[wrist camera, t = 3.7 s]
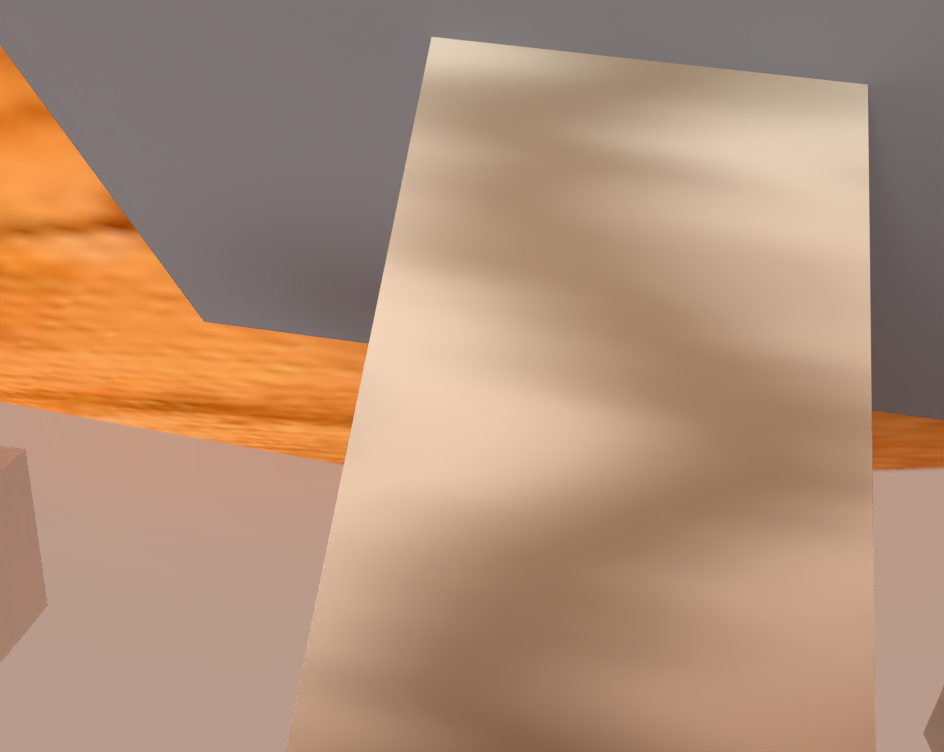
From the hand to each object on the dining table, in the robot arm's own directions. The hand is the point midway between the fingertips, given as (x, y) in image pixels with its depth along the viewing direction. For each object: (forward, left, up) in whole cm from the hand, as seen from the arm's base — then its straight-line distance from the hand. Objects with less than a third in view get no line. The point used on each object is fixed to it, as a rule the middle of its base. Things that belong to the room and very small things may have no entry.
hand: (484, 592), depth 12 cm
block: (-1, +1, -7) cm, 7 cm away
